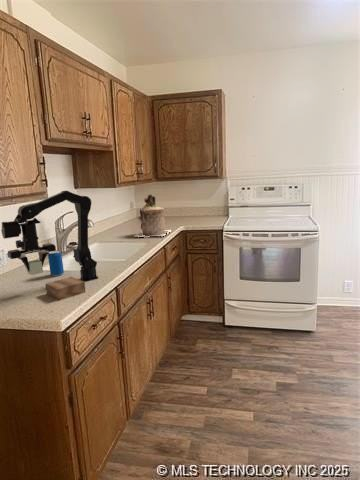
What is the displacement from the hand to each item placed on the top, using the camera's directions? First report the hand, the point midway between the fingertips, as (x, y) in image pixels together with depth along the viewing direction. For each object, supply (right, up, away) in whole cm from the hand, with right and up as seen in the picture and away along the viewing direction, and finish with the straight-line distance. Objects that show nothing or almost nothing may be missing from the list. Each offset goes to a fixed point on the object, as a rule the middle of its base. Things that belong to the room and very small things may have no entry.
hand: (35, 269), depth 153 cm
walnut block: (+14, -10, -3) cm, 18 cm away
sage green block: (0, -1, 0) cm, 1 cm away
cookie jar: (+42, +17, +121) cm, 130 cm away
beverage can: (+1, -5, +26) cm, 27 cm away
